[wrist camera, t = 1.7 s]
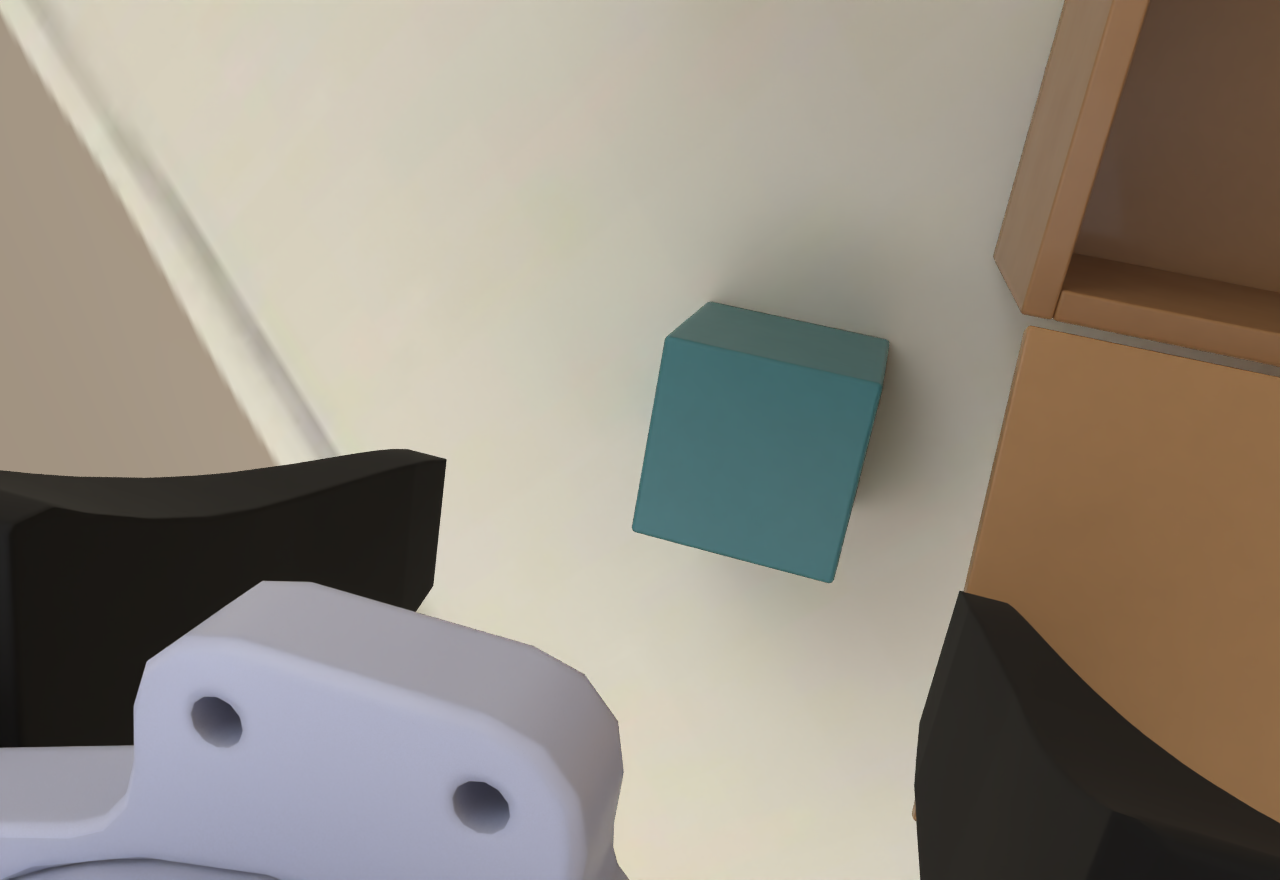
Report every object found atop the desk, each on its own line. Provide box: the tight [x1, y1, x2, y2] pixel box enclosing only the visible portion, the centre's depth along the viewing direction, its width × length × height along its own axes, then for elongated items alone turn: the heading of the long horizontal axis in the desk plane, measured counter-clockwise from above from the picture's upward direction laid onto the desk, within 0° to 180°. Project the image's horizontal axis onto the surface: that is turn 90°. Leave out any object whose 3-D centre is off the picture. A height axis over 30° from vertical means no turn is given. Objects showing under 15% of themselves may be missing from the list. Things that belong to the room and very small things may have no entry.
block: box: [632, 302, 889, 583], centre depth 21 cm, size 4×4×4 cm
